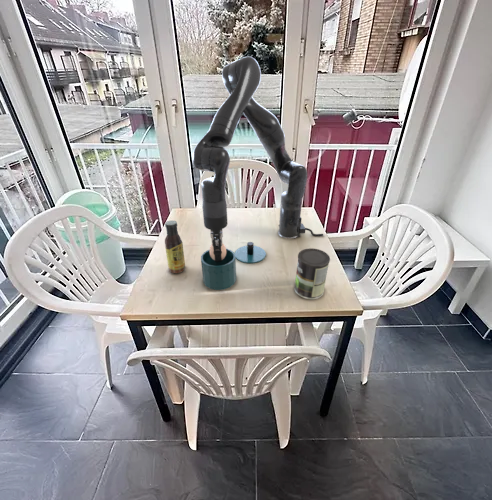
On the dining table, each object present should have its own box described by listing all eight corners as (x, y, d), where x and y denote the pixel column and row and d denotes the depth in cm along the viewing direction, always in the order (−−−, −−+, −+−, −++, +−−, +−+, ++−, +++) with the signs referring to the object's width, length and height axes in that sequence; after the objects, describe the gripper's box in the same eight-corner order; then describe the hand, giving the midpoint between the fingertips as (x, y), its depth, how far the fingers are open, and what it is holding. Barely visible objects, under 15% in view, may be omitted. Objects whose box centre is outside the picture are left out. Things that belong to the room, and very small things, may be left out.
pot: (234, 269, 110) (234, 246, 104) (237, 289, 100) (236, 265, 94) (203, 272, 108) (201, 248, 103) (203, 292, 99) (200, 267, 93)
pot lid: (263, 246, 124) (263, 234, 121) (268, 263, 114) (268, 250, 110) (233, 248, 123) (233, 236, 120) (236, 265, 112) (235, 253, 109)
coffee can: (295, 299, 96) (299, 265, 88) (293, 280, 105) (296, 247, 97) (326, 300, 96) (333, 266, 88) (321, 281, 104) (326, 248, 97)
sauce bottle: (177, 276, 106) (169, 229, 96) (165, 270, 109) (156, 224, 98) (189, 267, 111) (183, 221, 100) (177, 262, 114) (170, 217, 103)
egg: (214, 266, 96) (213, 247, 92) (207, 258, 100) (205, 239, 96) (229, 261, 99) (228, 242, 95) (222, 253, 103) (221, 235, 99)
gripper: (228, 221, 84) (230, 267, 93) (225, 202, 96) (228, 245, 105) (202, 222, 83) (207, 269, 92) (203, 203, 95) (207, 246, 104)
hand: (218, 256), depth 99 cm, fingers closed on egg, 5 cm apart
